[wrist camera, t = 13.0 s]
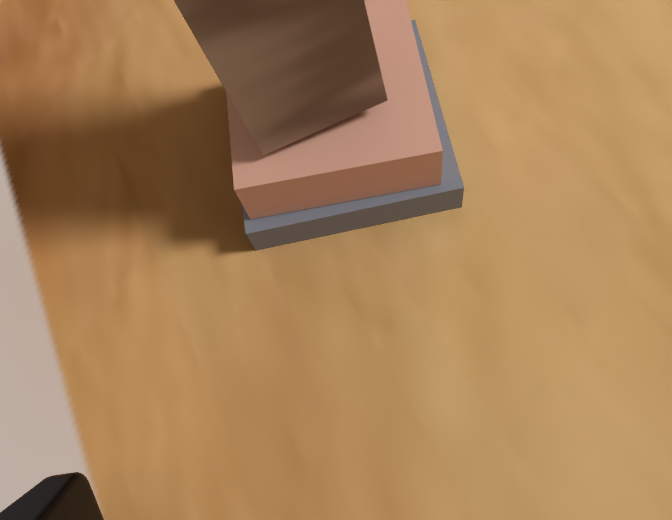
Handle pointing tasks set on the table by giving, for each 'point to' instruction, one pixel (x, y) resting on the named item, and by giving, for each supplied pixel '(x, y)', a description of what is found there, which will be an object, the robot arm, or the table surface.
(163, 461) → the table surface
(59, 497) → the robot arm
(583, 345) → the table surface
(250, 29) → the walnut pillar
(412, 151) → the terracotta top slab
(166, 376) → the table surface
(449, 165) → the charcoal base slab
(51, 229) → the table surface
